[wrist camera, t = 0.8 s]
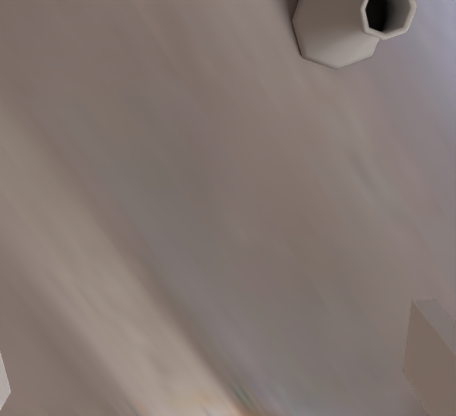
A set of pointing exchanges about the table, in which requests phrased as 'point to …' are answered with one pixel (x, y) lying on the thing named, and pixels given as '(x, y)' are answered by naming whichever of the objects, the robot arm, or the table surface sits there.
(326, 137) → the table surface
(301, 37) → the flask
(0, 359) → the robot arm
